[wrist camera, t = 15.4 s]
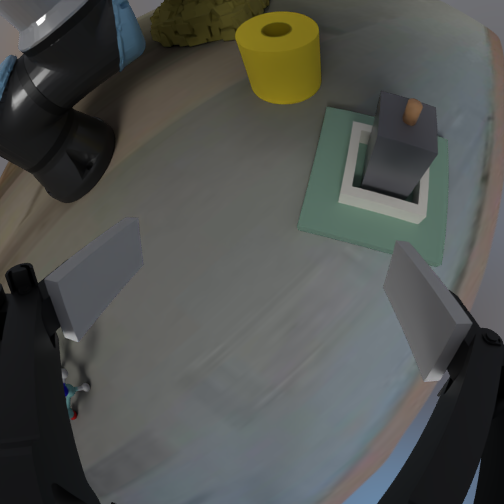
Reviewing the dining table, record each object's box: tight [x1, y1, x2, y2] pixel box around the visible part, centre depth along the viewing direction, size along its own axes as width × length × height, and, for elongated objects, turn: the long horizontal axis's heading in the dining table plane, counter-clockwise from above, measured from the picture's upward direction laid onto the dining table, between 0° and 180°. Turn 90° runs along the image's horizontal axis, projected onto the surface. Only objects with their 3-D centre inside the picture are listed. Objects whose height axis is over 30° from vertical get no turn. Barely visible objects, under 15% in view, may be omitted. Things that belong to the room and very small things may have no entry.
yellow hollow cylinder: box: [235, 12, 321, 104], centre depth 30 cm, size 10×10×9 cm
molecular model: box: [61, 368, 90, 420], centre depth 28 cm, size 12×10×10 cm
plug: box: [360, 91, 438, 201], centre depth 22 cm, size 5×5×12 cm
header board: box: [297, 107, 448, 267], centre depth 27 cm, size 16×16×4 cm
